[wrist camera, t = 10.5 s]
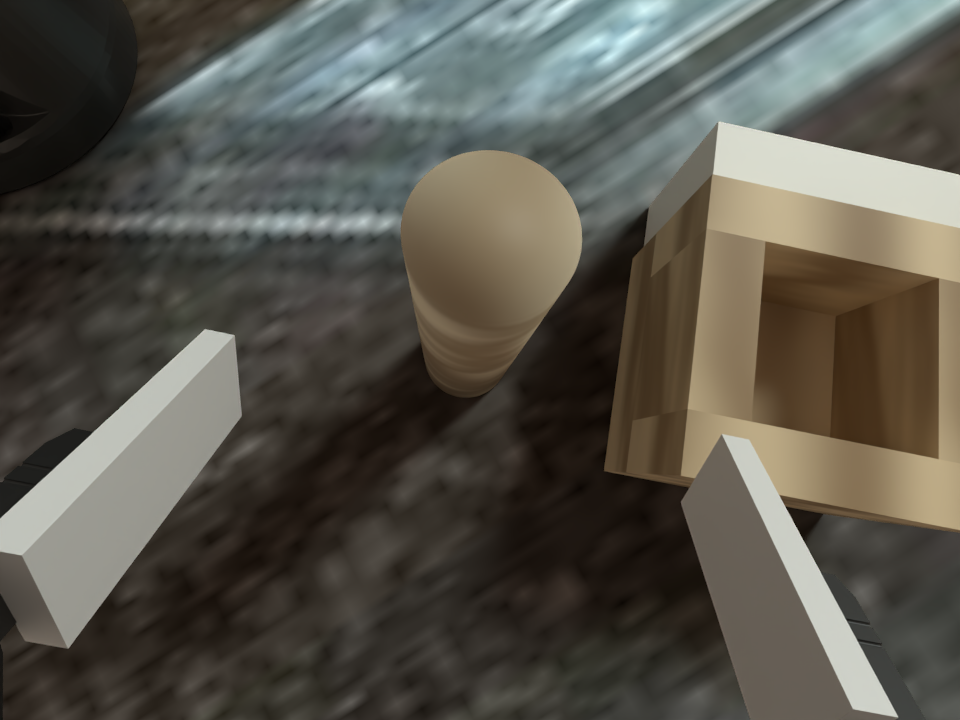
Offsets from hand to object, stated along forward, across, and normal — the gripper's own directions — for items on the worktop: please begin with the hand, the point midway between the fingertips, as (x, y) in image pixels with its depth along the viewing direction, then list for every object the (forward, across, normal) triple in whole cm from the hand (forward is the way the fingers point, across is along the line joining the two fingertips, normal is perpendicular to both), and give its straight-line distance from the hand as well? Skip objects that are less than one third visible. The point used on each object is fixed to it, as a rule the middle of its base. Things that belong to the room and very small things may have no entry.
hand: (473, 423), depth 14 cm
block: (+11, +12, -4) cm, 17 cm away
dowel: (+10, 0, -4) cm, 11 cm away
